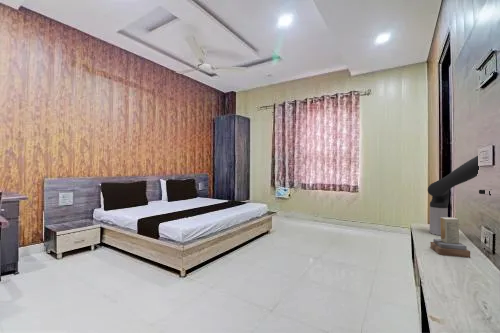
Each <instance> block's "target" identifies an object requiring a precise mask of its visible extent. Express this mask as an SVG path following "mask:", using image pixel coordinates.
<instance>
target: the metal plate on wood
mask: <svg viewBox="0 0 500 333" xmlns="http://www.w3.org/2000/svg"><path fill="white" fill-rule="evenodd" d="M432 240H433V241H430V242H429V243H430V249H432V250H433V251H434V252H436V253H437V254H438V255H440V256H448V257H457V258H458V257H460V258H468V257H469V259H471V250H469V249H468V248H467V247H468V246H467V245H466V244H463V243H462V242H460V241H459V243H445V242H443V241H441V238H433V239H432Z"/></svg>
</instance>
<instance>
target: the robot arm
mask: <svg viewBox="0 0 500 333" xmlns="http://www.w3.org/2000/svg"><path fill="white" fill-rule="evenodd" d="M478 170H479V166H478V155H476V156H475V157H472V158H471V159H469V160H468V161H466V162H464V163H463V164H461V165H460V166H458V167H457V168H455V169H454V170H453V171H451V172H450V173H449V174H447V175H446V176H443V177H442V178H440V179H439V180H438V179H437V181H434V182H432V183H431V184H429V185H428V187H427V192H428V195H430V196H431V200H430V202H429V234H431V233H432V235H435V234H436V235H435V236H441V219H440V217H446V218H449V216H448V215H449V214H448V212H449V210H448V209H449V208H448V206H449V203H450V190H451V189H452V188H453V187H456V186H459V185H460V184H464V183H465V182H468V181H470V180H472V179H475V178H476V177H478V176H477V174H478ZM485 190H486V189H479V190H478V194H479V195H486V194H485ZM489 196H491V194H490V191H489ZM491 197H492V196H491Z"/></svg>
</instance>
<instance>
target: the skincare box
mask: <svg viewBox="0 0 500 333" xmlns="http://www.w3.org/2000/svg"><path fill="white" fill-rule="evenodd" d="M440 219H441V235H440V239H441V241H443V242H445V243H459V242H460V221H459V218H456V217H448V218H446V217H440Z"/></svg>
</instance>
